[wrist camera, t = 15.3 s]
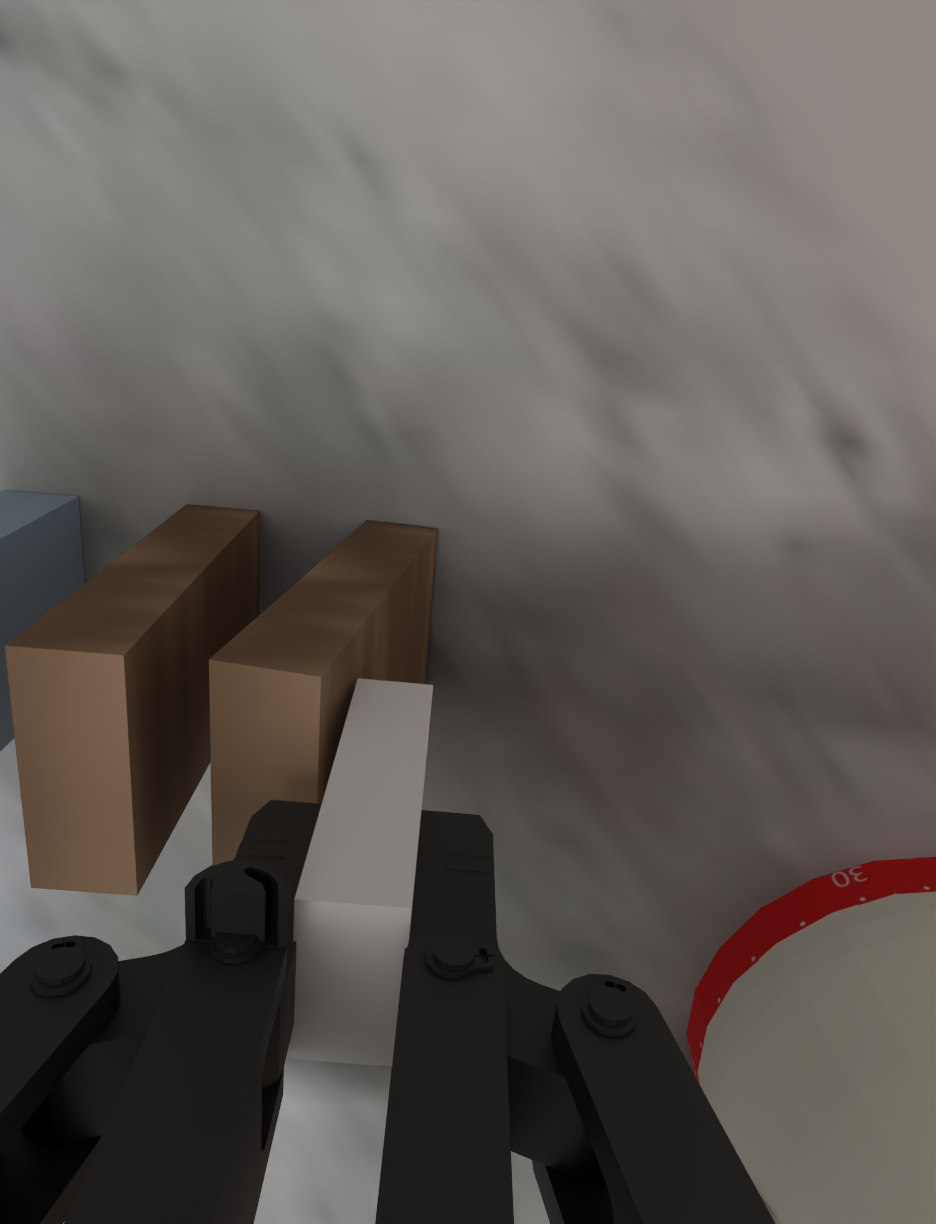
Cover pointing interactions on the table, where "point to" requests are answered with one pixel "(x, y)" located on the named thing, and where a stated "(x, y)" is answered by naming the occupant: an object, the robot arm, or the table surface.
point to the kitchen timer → (829, 1046)
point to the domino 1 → (34, 570)
